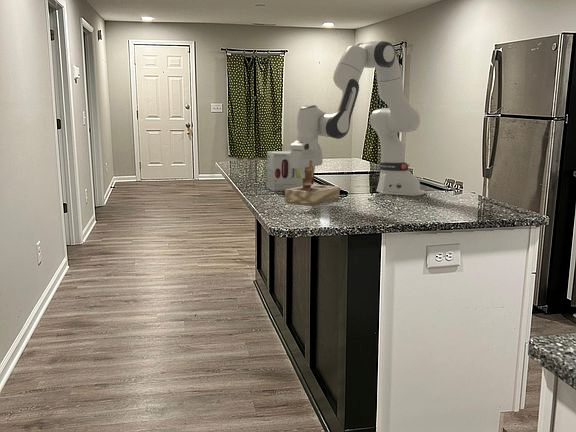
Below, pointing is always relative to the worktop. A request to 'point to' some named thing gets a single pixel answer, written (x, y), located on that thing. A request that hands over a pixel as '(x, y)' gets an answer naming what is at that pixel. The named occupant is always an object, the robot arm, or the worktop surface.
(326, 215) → the worktop surface
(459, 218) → the worktop surface
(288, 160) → the supplement box
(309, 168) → the peg
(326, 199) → the board
